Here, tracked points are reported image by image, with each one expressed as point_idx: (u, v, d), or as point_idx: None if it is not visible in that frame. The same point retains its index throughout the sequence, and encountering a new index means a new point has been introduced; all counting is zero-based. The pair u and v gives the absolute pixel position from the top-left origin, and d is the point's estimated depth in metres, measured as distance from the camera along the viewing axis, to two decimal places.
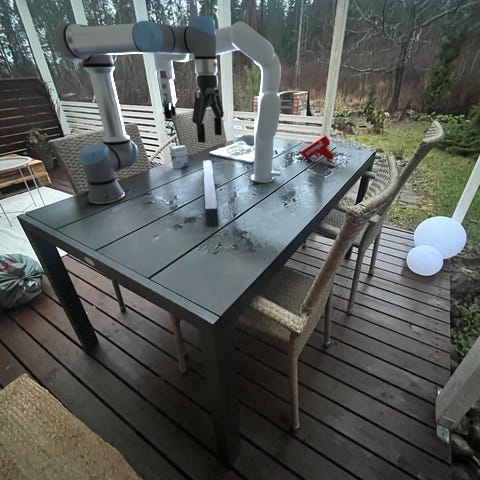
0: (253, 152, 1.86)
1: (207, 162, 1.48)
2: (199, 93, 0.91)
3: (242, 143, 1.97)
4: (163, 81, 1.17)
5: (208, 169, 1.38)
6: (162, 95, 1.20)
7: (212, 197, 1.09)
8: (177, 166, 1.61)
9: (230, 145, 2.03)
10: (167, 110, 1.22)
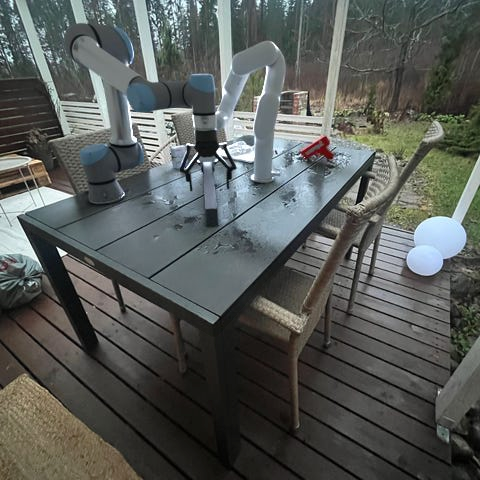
0: (253, 152, 1.86)
1: (207, 162, 1.48)
2: (186, 146, 0.91)
3: (242, 143, 1.97)
4: None
5: (208, 169, 1.38)
6: None
7: (212, 197, 1.09)
8: (177, 166, 1.61)
9: (230, 145, 2.03)
10: (201, 167, 1.47)
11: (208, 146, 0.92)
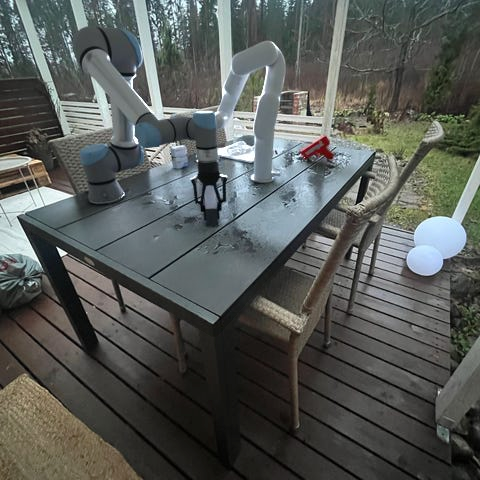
0: (253, 152, 1.86)
1: None
2: None
3: (242, 143, 1.97)
4: None
5: None
6: None
7: (212, 197, 1.09)
8: (177, 166, 1.61)
9: (230, 145, 2.03)
10: None
11: (210, 176, 0.97)
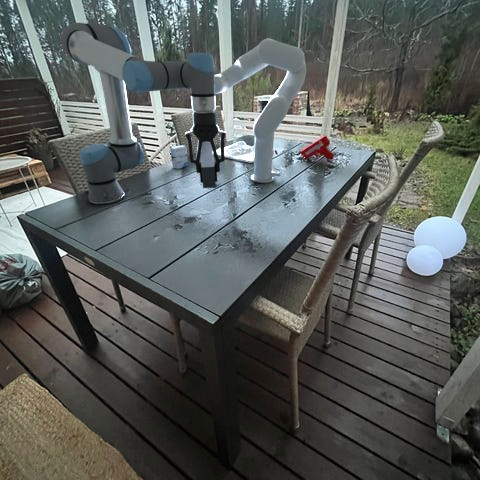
0: (253, 152, 1.86)
1: None
2: None
3: (242, 143, 1.97)
4: None
5: None
6: None
7: (209, 158, 1.00)
8: (177, 166, 1.61)
9: (230, 145, 2.03)
10: None
11: (207, 130, 0.89)
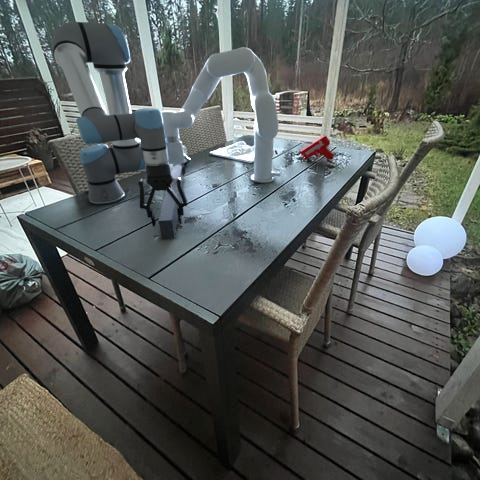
0: (253, 152, 1.86)
1: (177, 167, 1.40)
2: None
3: (242, 143, 1.97)
4: None
5: (175, 175, 1.31)
6: None
7: (169, 207, 1.01)
8: None
9: (230, 145, 2.03)
10: None
11: (161, 180, 0.89)
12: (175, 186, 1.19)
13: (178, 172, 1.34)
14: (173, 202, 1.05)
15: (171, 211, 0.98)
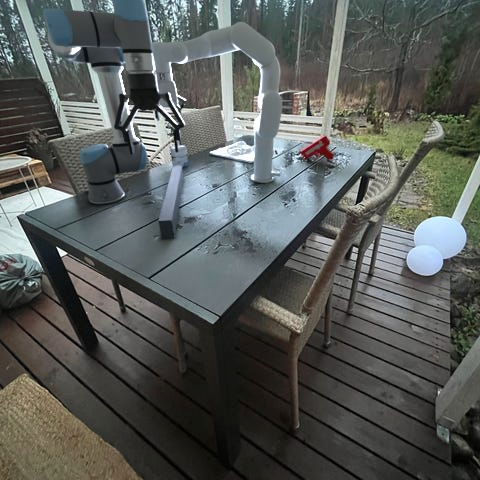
0: (253, 152, 1.86)
1: (177, 167, 1.40)
2: None
3: (242, 143, 1.97)
4: None
5: (175, 175, 1.31)
6: None
7: (169, 207, 1.01)
8: None
9: (230, 145, 2.03)
10: None
11: (146, 96, 0.76)
12: (175, 186, 1.19)
13: (178, 172, 1.34)
14: (173, 202, 1.05)
15: (171, 211, 0.98)
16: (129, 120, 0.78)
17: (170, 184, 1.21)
